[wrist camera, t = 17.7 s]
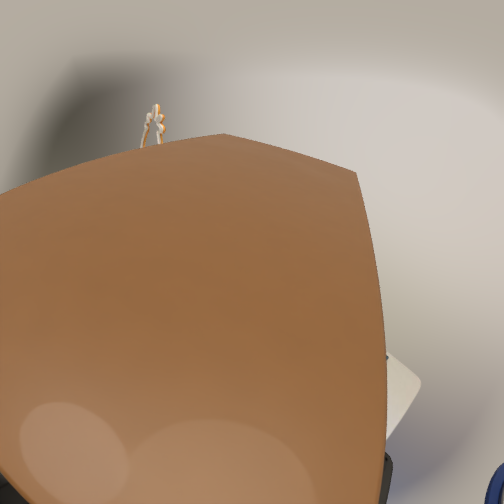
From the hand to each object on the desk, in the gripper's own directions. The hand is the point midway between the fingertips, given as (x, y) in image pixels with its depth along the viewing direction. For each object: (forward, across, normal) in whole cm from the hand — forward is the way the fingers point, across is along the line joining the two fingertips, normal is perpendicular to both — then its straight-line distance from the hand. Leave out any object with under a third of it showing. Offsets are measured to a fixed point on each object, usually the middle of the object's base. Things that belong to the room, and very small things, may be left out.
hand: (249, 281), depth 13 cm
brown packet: (-5, 0, -8) cm, 9 cm away
